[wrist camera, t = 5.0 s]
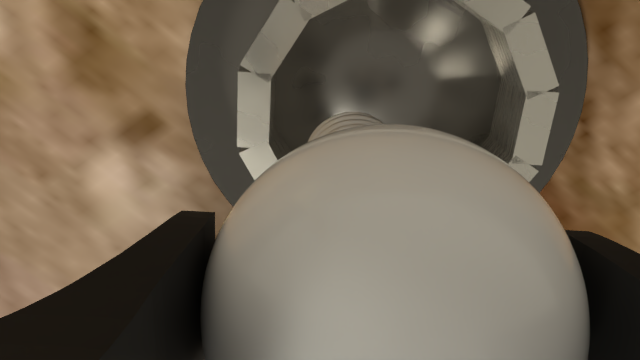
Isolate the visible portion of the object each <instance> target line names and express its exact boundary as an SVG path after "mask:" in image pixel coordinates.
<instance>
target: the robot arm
mask: <svg viewBox="0 0 640 360" xmlns="http://www.w3.org/2000/svg"><path fill="white" fill-rule="evenodd" d="M565 231H566V233H567V235H568V237H569V239H570V241H571V243H572V246H573V248H574V250H575V253H576V255H577V258H578V261H579V264H580V267H581V270H582V273H583V277H584V281H585V285H586V290H587V295H588V302H589V310H590V349H589V357H588V360H640V254H639V253H637V252H635V251H633V250H631V249H629V248H627V247H625V246H622V245H620V244H618V243H616V242H614V241H612V240H610V239H607V238H605V237H603V236H600V235H598V234H595V233H592V232H589V231H570V230H565ZM214 242H215V212H196V211H181V212H179V213H177V214H176V215H174V216H173V217H171V218H170V219H169V220H167V221H166V222H164V223H163V224H162V225H160V226H159V227H157V228H156V229H155V230H153V231H152V232H151V233H149V234H148V235H146V236H145V237H144V238H142V239H141V240H139V241H138V242H136V243H135V244H133V245H132V246H131V247H129V248H128V249H126V250H125V251H123V252H122V253H121V254H119V255H117V256H116V257H114V258H113V259H111V260H109V261H108V262H106V263H105V264H103V265H101V266H100V267H98V268H96V269H95V270H93V271H92V272H90V273H88V274H87V275H85V276H84V277H82V278H80V279H79V280H77V281H75V282H73V283H72V284H70V285H68V286H66V287H64V288H63V289H61V290H59V291H57V292H55V293H53V294H51V295H49V296H47V297H45V298H43V299H41V300H39V301H37V302H35V303H33V304H31V305H29V306H27V307H25V308H23V309H20V310H18V311H16V312H14V313H12V314H9V315H7V316H4V317H2V318H0V360H204V355H203V349H202V342H201V332H200V301H201V291H202V284H203V278H204V274H205V269H206V266H207V262H208V259H209V256H210V253H211V250H212V247H213V244H214Z"/></svg>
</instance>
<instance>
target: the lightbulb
mask: <svg viewBox="0 0 640 360" xmlns="http://www.w3.org/2000/svg"><path fill="white" fill-rule="evenodd" d="M200 332H201V342H202V349H203V355H204V360H588V357H589V349H590V310H589V302H588V295H587V290H586V285H585V281H584V277H583V273H582V270H581V267H580V264H579V261H578V258H577V255H576V253H575V250H574V248H573V246H572V243H571V241H570V239H569V237H568V235H567V233H566V231H565V229H564V228H563V226H562V224H561V222H560V221H559V219H558V218H557V216H556V214H555V213H554V211H553V210H552V209H551V207H550V206H549V204H548V203H547V202H546V201H545V199H544V198H543V197H542V196H541V194H540V193H539V192H538V191H537V190H536V189H535V188H534V187H533V186H532V185H531V184H530V183H529V182H528V181H527V180H526V179H525V178H524V177H523V176H522V175H521V174H520V173H519V172H517V171H516V170H515V169H514V168H513V167H511V166H510V165H509V164H507V163H506V162H505V161H503V160H502V159H500V158H499V157H497V156H496V155H494V154H493V153H491V152H489V151H488V150H486V149H484V148H482V147H480V146H479V145H477V144H475V143H473V142H470V141H468V140H466V139H463V138H461V137H458V136H456V135H453V134H450V133H447V132H444V131H440V130H436V129H432V128H427V127H422V126H415V125H407V124H384V123H383V122H382V121H380V120H379V119H377V118H376V117H374V116H372V115H369V114H366V113H361V112H344V113H340V114H337V115H334V116H332V117H330V118H328V119H326V120H325V121H323V122H322V123H321V124H320V125H319V126H318V127H317V128H316V129H315V130H314V131H313V133H312V134H311V136H310V138H309V140H308V142H307V143H305V144H303V145H301V146H299V147H298V148H296V149H294V150H292V151H291V152H289V153H288V154H286V155H285V156H283V157H282V158H280V159H279V160H277V161H276V162H275V163H274V164H272V165H271V166H270V167H269V168H267V169H266V170H265V171H264V172H263V173H262V174H261V175H260V176H259V177H258V178H257V179H256V180H255V181H254V182H253V183H252V184H251V185H250V186H249V187H248V188H247V189H246V191H245V192H244V193H243V194H242V195H241V197H240V198H239V199H238V201H237V202H236V204H235V205H234V207H233V208H232V209H231V211H230V213H229V214H228V216H227V218H226V219H225V221H224V223H223V225H222V227H221V229H220V231H219V233H218V235H217V237H216V240H215V242H214V244H213V247H212V250H211V253H210V256H209V259H208V262H207V266H206V269H205V274H204V278H203V284H202V291H201V301H200Z"/></svg>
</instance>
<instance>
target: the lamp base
mask: <svg viewBox="0 0 640 360" xmlns="http://www.w3.org/2000/svg"><path fill="white" fill-rule="evenodd" d="M587 67H588V55H587V42H586V32H585V28H584V23H583V19H582V14H581V10H580V6H579V4H578V1H577V0H203V2H202V4H201V6H200V8H199V11H198V14H197V18H196V21H195V24H194V27H193V30H192V33H191V38H190V44H189V50H188V55H187V64H186V96H187V107H188V114H189V119H190V123H191V127H192V132H193V136H194V139H195V141H196V144H197V147H198V149H199V152H200V155H201V157H202V160H203V162H204V164H205V166H206V167H207V169H208V171H209V173H210V175H211V177H212V179H213V181H214V182H215V183H216V185H217V186H218V188H219V189H220V190H221V192H222V193H223V195H224V196H225V197H226V199H227V200H228V201H229V202H230V203H231V204H232V206H233V207H234V205H235V204H236V202H237V201H238V199H239V198H240V197H241V195H242V194H243V193H244V192H245V191H246V189H247V188H248V187H249V186H250V185H251V184H252V183H253V182H254V181H255V180H256V179H257V178H258V177H259V176H260V175H261V174H262V173H263V172H264V171H265V170H266V169H267V168H269V167H270V166H271V165H272V164H274V163H275V162H276V161H277V160H279V159H280V158H282V157H283V156H285V155H286V154H288V153H289V152H291V151H292V150H294V149H296V148H298V147H299V146H301V145H303V144H305V143H307V142H308V140H309V138H310V136H311V134H312V133H313V131H314V130H315V129H316V128H317V127H318V126H319V125H320V124H321V123H322V122H323V121H325V120H326V119H328V118H330V117H332V116H334V115H337V114H340V113H344V112H361V113H366V114H369V115H372V116H374V117H376V118H377V119H379V120H380V121H382V122H383V123H384V124H407V125H415V126H422V127H427V128H432V129H436V130H440V131H444V132H447V133H450V134H453V135H456V136H458V137H461V138H463V139H466V140H468V141H470V142H473V143H475V144H477V145H479V146H480V147H482V148H484V149H486V150H488V151H489V152H491V153H493V154H494V155H496V156H497V157H499V158H500V159H502V160H503V161H505V162H506V163H507V164H509V165H510V166H511V167H513V168H514V169H515V170H516V171H517V172H519V173H520V174H521V175H522V176H523V177H524V178H525V179H526V180H527V181H528V182H529V183H530V184H531V185H532V186H533V187H534V188H535V189H536V190H537V191H538V192H540V191H541V190H542V189H543V187H544V186H545V185H546V184H547V183H548V181H549V180H550V178H551V177H552V175H553V174H554V172H555V170H556V169H557V167H558V166H559V164H560V162H561V161H562V159H563V157H564V155H565V153H566V151H567V149H568V147H569V145H570V142H571V140H572V138H573V136H574V133H575V130H576V127H577V124H578V121H579V118H580V115H581V112H582V107H583V101H584V96H585V91H586V84H587Z"/></svg>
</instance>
